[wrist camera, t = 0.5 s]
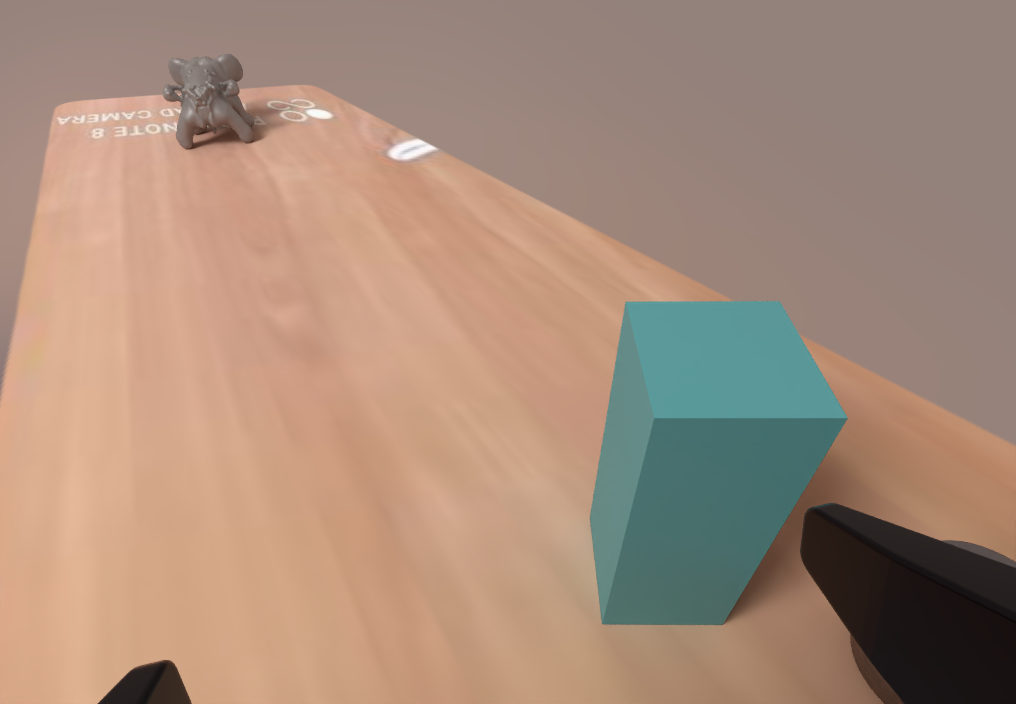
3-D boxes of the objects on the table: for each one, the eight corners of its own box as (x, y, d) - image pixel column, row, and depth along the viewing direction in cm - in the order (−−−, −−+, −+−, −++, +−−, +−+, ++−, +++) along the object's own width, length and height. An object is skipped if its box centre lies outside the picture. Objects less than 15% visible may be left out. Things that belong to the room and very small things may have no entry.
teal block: (722, 624, 23) (848, 418, 14) (602, 624, 23) (654, 418, 15) (693, 517, 27) (779, 301, 18) (589, 517, 27) (625, 301, 18)
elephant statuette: (187, 161, 59) (157, 85, 54) (165, 121, 66) (136, 50, 61) (274, 142, 63) (255, 70, 58) (245, 106, 70) (225, 38, 65)
